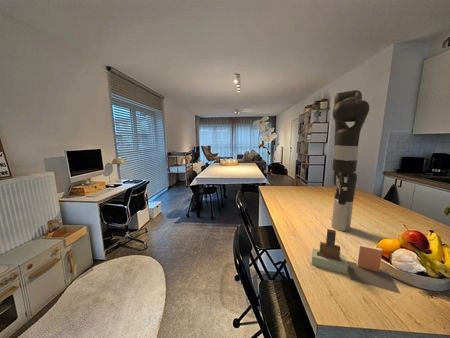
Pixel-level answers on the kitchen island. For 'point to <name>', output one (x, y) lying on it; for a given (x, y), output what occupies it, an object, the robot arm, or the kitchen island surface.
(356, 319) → the kitchen island surface
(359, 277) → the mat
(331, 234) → the brown wooden block
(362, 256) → the tile
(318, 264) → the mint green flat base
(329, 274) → the kitchen island surface
